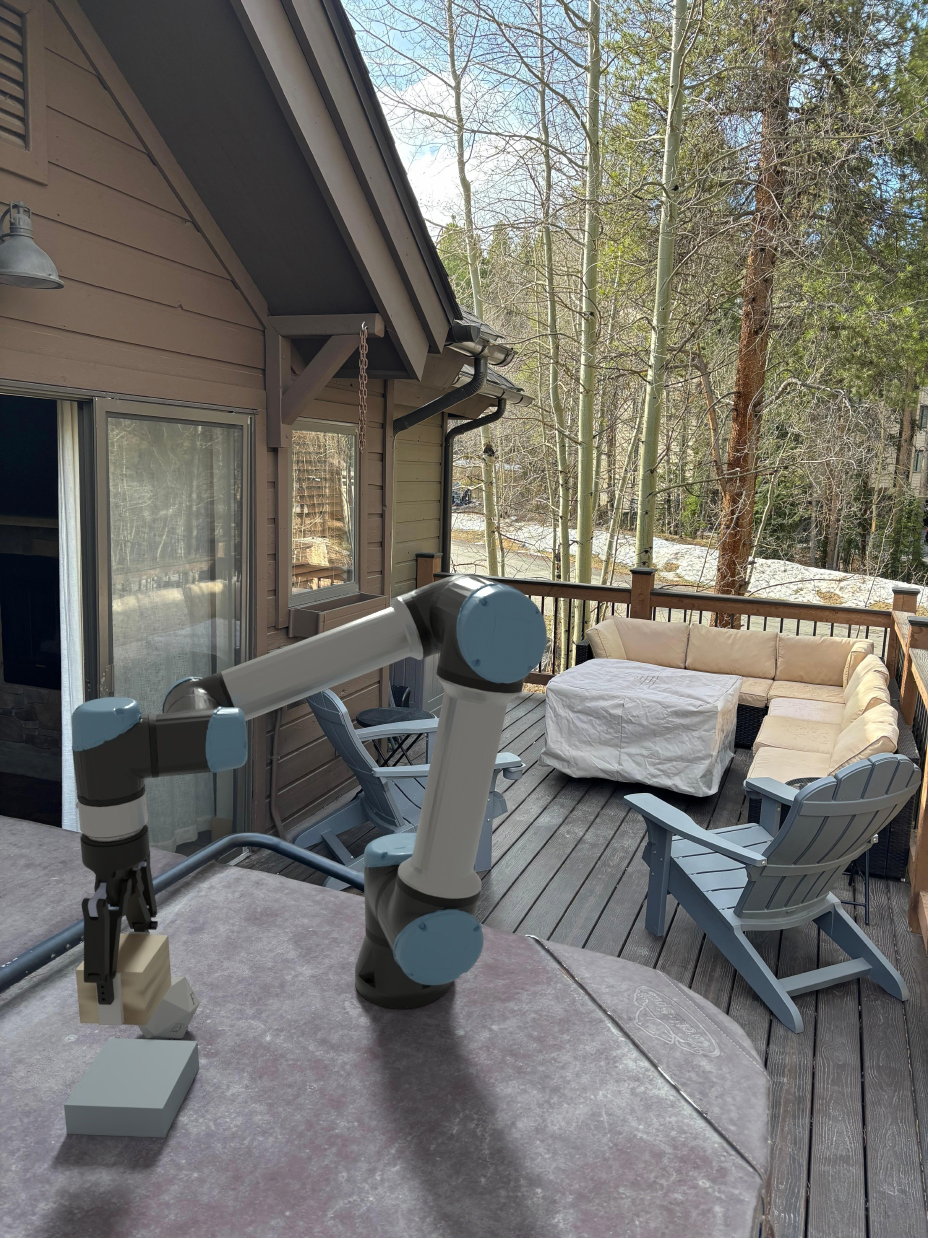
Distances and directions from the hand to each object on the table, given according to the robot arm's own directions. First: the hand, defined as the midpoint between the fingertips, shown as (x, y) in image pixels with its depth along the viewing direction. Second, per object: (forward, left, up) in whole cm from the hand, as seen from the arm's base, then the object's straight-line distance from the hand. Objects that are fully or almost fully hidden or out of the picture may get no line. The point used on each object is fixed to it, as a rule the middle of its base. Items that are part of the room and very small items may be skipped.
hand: (127, 1000), depth 108 cm
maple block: (0, 0, 0) cm, 0 cm away
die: (+1, -13, -14) cm, 19 cm away
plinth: (0, 0, -14) cm, 14 cm away
